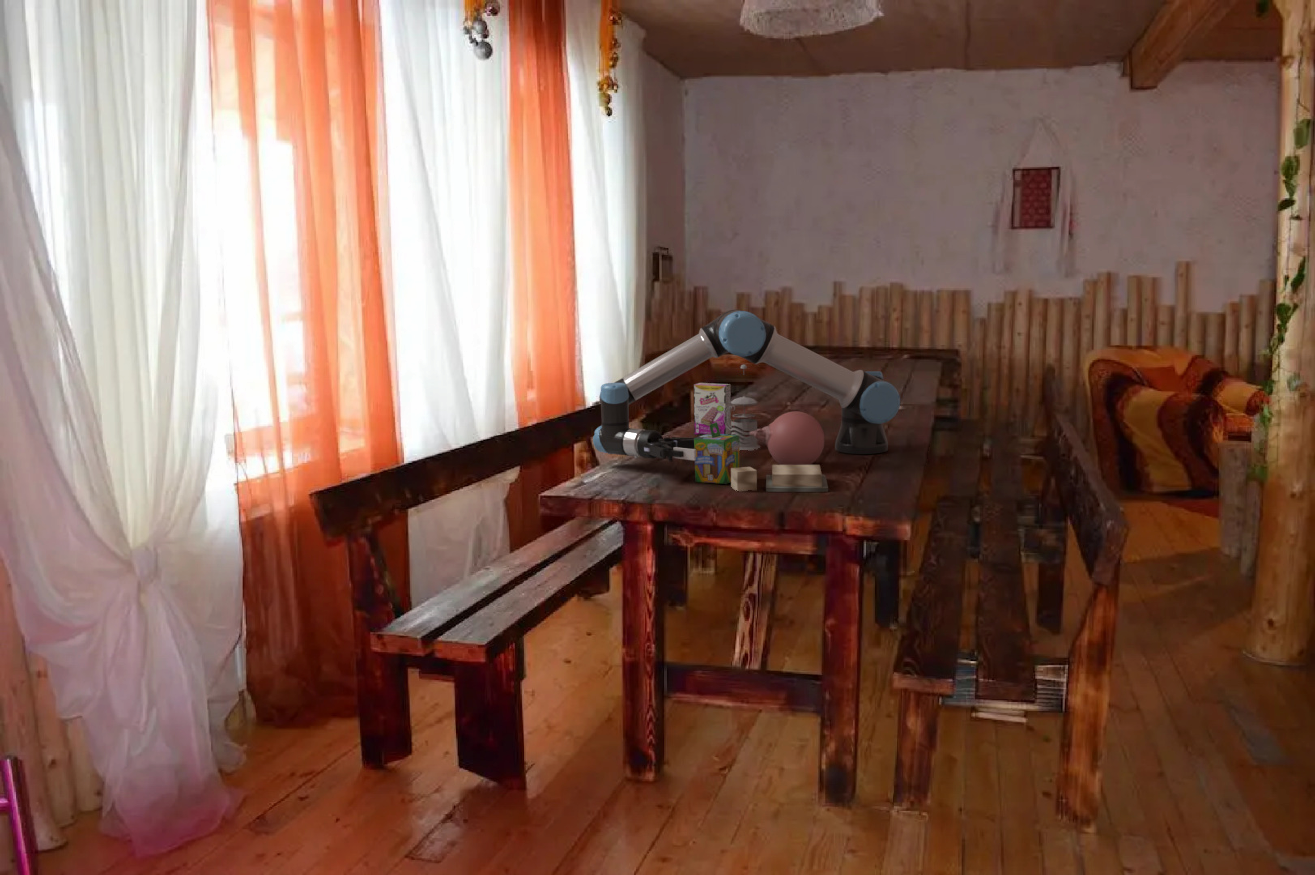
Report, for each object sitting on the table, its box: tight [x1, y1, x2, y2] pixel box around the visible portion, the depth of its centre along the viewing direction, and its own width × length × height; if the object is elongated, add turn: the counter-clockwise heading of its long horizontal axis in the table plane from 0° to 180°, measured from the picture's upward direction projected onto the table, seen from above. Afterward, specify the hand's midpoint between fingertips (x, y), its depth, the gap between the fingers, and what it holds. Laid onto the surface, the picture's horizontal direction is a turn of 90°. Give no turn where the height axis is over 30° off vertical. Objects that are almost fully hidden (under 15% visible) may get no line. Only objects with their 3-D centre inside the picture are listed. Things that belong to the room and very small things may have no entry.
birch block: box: [730, 466, 758, 492], centre depth 266 cm, size 5×5×5 cm
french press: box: [724, 364, 761, 451], centre depth 320 cm, size 10×12×25 cm
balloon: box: [749, 410, 825, 465], centre depth 289 cm, size 15×20×15 cm
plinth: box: [765, 464, 829, 493], centre depth 268 cm, size 15×15×4 cm
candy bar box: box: [693, 382, 732, 436], centre depth 344 cm, size 11×5×16 cm, turn 65°
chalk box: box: [693, 423, 741, 485], centre depth 275 cm, size 9×9×15 cm
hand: (710, 450), depth 276 cm, fingers open, 13 cm apart
